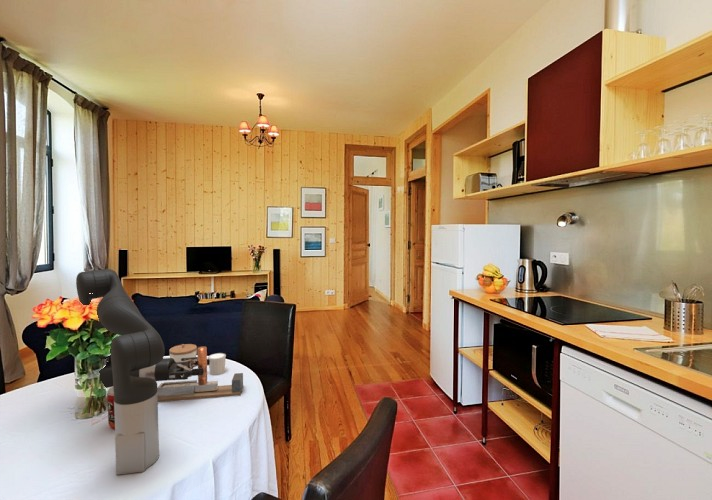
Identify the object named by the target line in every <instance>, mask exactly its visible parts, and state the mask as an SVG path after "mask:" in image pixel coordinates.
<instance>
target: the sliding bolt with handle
mask: <svg viewBox="0 0 712 500" xmlns="http://www.w3.org/2000/svg"><path fill="white" fill-rule="evenodd" d="M207 349H208V348H207V346H198V347H197V357H198V366H197V368H203V369H204V374H203V375H197V383H183V384H169V385H164V386H163V387H171V386H185V385H194V392H202V391H215V390H217V388H218V386H219V385H218V383H219V381H218V380H216V381H215V380H213V381H212V380H211V381H208V366H207V359H208V352H207Z"/></svg>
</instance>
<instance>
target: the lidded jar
mask: <svg viewBox="0 0 712 500" xmlns="http://www.w3.org/2000/svg"><path fill="white" fill-rule="evenodd" d="M197 348H198V346H197V345H196V344H192V343H187V344H186V343H185V344H184V343H181V344H178V345H175V346H173V347H171V348H170V349H169V350H168V351H169V358H173V359H174V361H175V362H176V363H177V362H180V361H181V359H182V358H191V357H197V355H198V350H197Z"/></svg>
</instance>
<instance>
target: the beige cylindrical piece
mask: <svg viewBox="0 0 712 500" xmlns="http://www.w3.org/2000/svg"><path fill="white" fill-rule="evenodd" d="M226 357H227V354H226V353H223V352H217V353H212V354H210V355H208V356H207V359H209V360H210V364H209V365H208V367H209V368H208V369H209V374H210V375H212V376H219V375H221V374H224V373H225V371H226V370H225V369H226Z"/></svg>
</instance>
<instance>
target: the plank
mask: <svg viewBox="0 0 712 500" xmlns="http://www.w3.org/2000/svg"><path fill="white" fill-rule="evenodd" d="M243 389H244V386H243V387H242V390H241V392H236V393H232V384H227V385H226V384H225V385H218V388H217V390H215V391H202V392H194V395H186V396H174V397H161V398H160V397H158V403H164V402H175V401H176V402H178V401H189V400H200V399H203V400H204V399H212V398H215V399H216V398H225V397H228V398H229V397H237V396H241V394H242V393H243Z"/></svg>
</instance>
